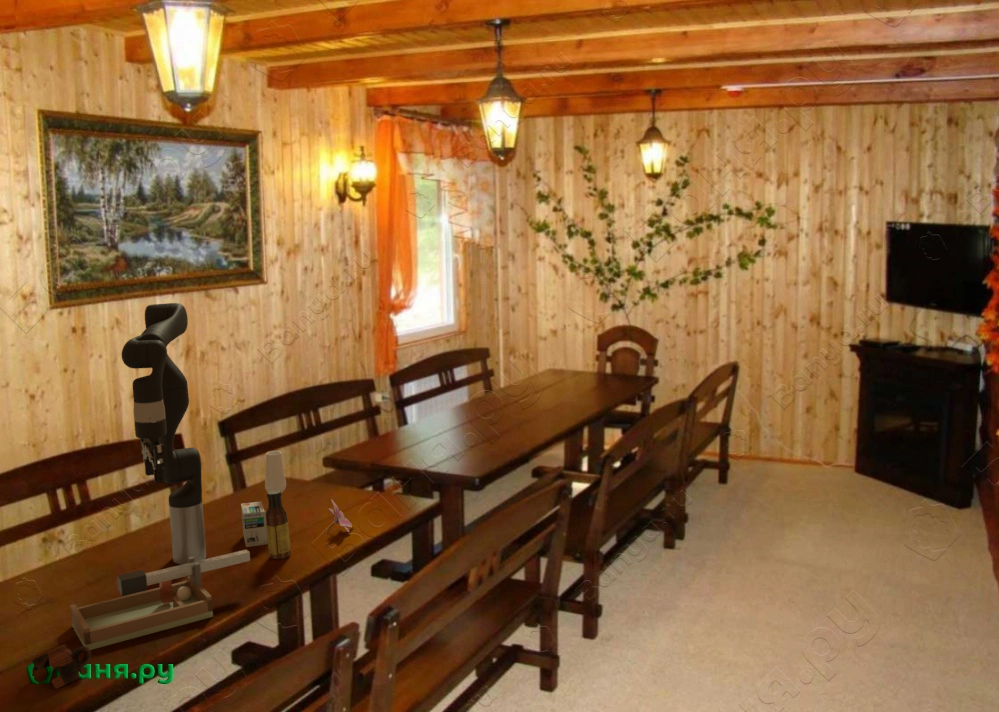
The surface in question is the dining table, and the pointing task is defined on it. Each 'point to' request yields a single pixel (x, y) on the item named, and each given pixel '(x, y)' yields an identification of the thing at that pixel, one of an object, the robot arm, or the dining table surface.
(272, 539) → the sauce bottle
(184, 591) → the ball
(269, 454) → the champagne flute
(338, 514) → the lily
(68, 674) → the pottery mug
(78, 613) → the wooden tray
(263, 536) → the light bulb box
